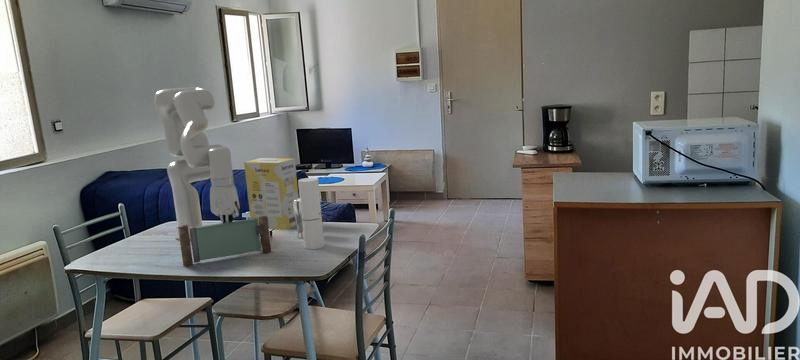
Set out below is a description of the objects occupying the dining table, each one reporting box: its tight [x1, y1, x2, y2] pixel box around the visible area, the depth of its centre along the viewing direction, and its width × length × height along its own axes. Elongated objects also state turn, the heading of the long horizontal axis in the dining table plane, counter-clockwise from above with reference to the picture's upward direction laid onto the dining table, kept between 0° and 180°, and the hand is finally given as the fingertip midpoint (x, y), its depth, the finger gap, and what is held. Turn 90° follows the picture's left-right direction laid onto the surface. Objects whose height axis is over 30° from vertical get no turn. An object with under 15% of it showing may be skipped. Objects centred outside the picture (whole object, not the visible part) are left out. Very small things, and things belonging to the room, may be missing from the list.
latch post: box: [256, 216, 272, 254], centre depth 207 cm, size 5×4×13 cm
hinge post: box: [177, 225, 194, 267], centre depth 198 cm, size 3×3×14 cm
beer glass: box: [293, 197, 304, 240], centre depth 224 cm, size 7×7×15 cm
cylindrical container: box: [297, 177, 325, 250], centre depth 209 cm, size 7×7×25 cm
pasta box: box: [243, 157, 300, 231], centre depth 243 cm, size 18×10×28 cm, turn 63°
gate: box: [189, 218, 262, 264], centre depth 203 cm, size 23×2×12 cm, turn 111°
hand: (228, 232), depth 206 cm, fingers closed
